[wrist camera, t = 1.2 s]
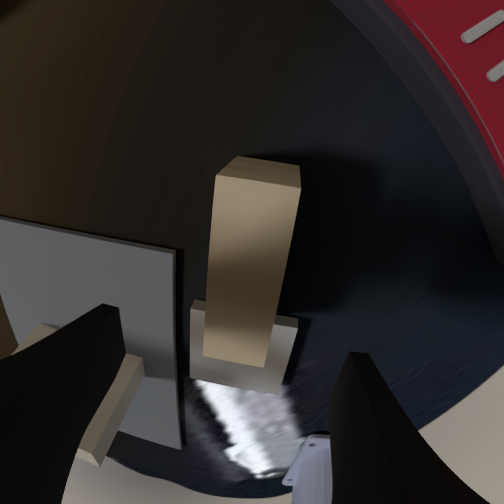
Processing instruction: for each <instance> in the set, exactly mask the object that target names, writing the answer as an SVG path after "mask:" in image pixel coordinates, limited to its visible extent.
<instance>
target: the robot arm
mask: <svg viewBox="0 0 504 504" xmlns="http://www.w3.org/2000/svg"><path fill="white" fill-rule="evenodd" d="M125 355H126V349H125V344H124V338H123V331H122V325H121V318H120V311H119V307H115V306H112V305H108V304H104V303H102V304H101V305H99V306H97V307H95V308H93V309H92V310H90V311H88V312H87V313H85V314H83V315H82V316H80V317H78V318H77V319H75V320H74V321H72V322H70V323H69V324H67V325H65V326H64V327H62V328H60V329H59V330H57V331H55V332H54V333H52V334H50V335H49V336H47V337H45V338H43V339H41V340H40V341H38V342H36V343H34V344H32V345H31V346H29V347H27V348H25V349H23V350H21V351H19V352H17V353H15V354H13V355H11V356H8V357H6V358H4V359H2V360H0V504H61V501H62V498H63V493H64V490H65V486H66V482H67V479H68V476H69V473H70V470H71V467H72V464H73V461H74V458H75V455H76V453H77V450H78V447H79V445H80V442H81V440H82V437H83V435H84V433H85V431H86V429H87V427H88V425H89V424H90V422H91V420H92V418H93V417H94V415H95V413H96V411H97V410H98V408H99V406H100V404H101V403H102V401H103V399H104V398H105V396H106V394H107V392H108V391H109V389H110V387H111V385H112V384H113V382H114V380H115V378H116V376H117V374H118V371H119V369H120V367H121V364H122V362H123V359H124V357H125ZM329 433H330V435H322V434H312V435H309V436H308V437H307V439H306V441H305V443H304V445H303V446H302V448H301V450H300V452H299V453H298V455H297V457H296V459H295V460H294V462H293V464H292V465H291V467H290V469H289V470H288V472H287V474H286V475H285V477H284V479H283V481H282V484H283V485H288V486H293V491H292V504H490V503H489V502H487V501H486V500H485V499H483V498H482V497H481V496H480V495H478V494H477V493H476V492H475V491H473V490H472V489H471V488H470V487H468V486H467V485H466V484H465V483H464V482H463V481H462V480H461V479H460V478H459V477H458V476H457V475H456V474H455V473H454V472H453V471H452V470H451V469H450V468H449V467H448V466H447V465H446V464H445V463H444V462H443V461H442V460H441V459H440V458H439V457H438V455H437V454H436V453H435V452H434V451H433V449H432V448H431V447H430V446H429V445H428V443H427V442H426V441H425V440H424V438H423V437H422V436H421V435H420V433H419V432H418V430H417V429H416V428H415V426H414V425H413V423H412V422H411V421H410V419H409V418H408V416H407V415H406V413H405V412H404V411H403V409H402V407H401V406H400V404H399V403H398V401H397V400H396V398H395V397H394V395H393V393H392V392H391V390H390V389H389V387H388V385H387V384H386V382H385V380H384V379H383V377H382V375H381V374H380V372H379V371H378V369H377V367H376V366H375V364H374V362H373V361H372V359H371V358H370V356H369V354H367V353H358V352H349V354H348V356H347V358H346V361H345V363H344V365H343V367H342V369H341V372H340V374H339V376H338V378H337V380H336V382H335V384H334V386H333V389H332V391H331V393H330V405H329Z"/></svg>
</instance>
